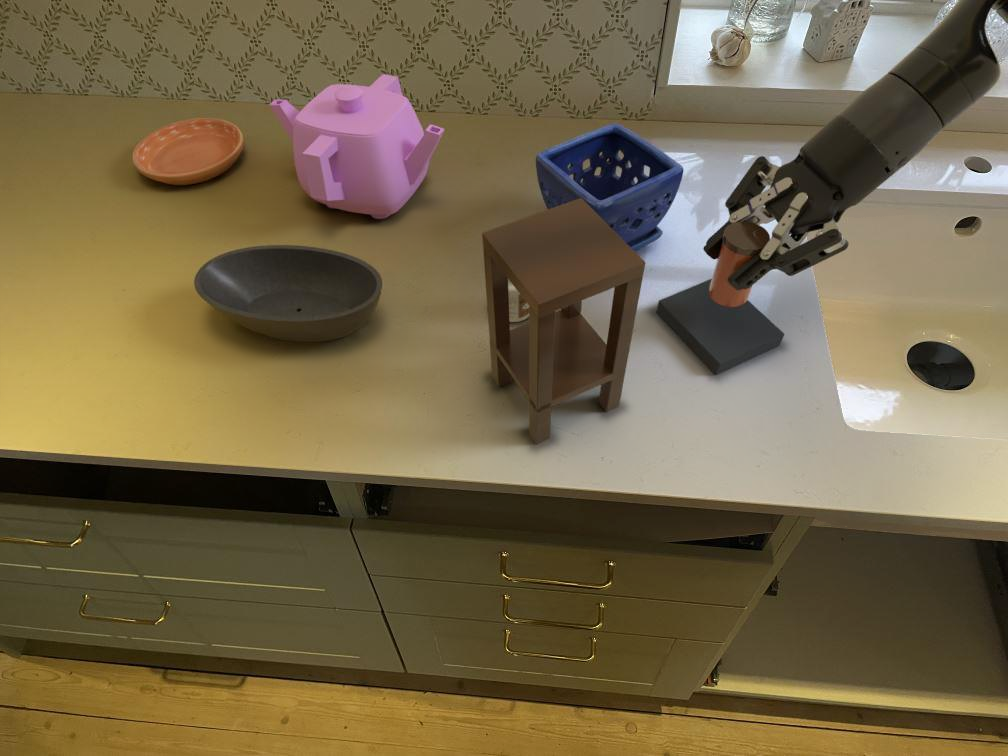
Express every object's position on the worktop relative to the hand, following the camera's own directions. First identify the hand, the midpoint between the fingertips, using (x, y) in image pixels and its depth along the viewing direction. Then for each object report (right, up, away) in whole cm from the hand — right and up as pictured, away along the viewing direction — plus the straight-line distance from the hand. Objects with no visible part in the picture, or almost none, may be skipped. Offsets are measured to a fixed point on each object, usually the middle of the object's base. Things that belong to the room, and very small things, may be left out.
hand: (720, 269), depth 67 cm
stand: (-17, -13, +3) cm, 21 cm away
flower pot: (-10, +7, +18) cm, 22 cm away
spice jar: (+2, -2, +4) cm, 4 cm away
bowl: (-47, -4, +11) cm, 48 cm away
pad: (+2, -6, +8) cm, 10 cm away
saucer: (-70, +22, +33) cm, 80 cm away
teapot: (-42, +15, +27) cm, 52 cm away
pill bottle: (-21, -3, +11) cm, 24 cm away
